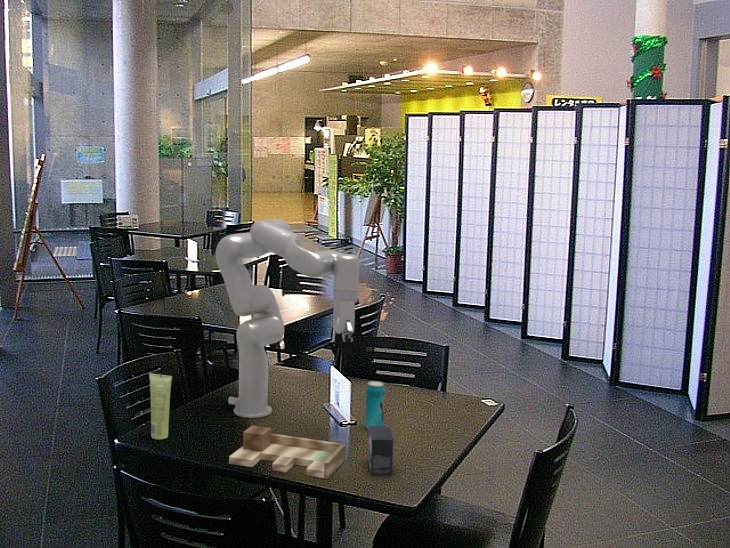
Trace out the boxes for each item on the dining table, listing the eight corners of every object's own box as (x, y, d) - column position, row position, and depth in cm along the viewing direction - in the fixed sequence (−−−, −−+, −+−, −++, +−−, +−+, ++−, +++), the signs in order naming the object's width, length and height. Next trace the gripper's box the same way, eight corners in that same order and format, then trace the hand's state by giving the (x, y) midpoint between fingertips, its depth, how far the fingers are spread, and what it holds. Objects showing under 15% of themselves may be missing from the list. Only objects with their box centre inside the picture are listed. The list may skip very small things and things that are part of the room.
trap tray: (227, 463, 227) (227, 447, 226) (249, 444, 242) (249, 430, 241) (328, 479, 219) (328, 463, 218) (345, 459, 233) (345, 444, 233)
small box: (366, 460, 233) (367, 425, 232) (388, 460, 234) (390, 425, 232) (369, 475, 223) (371, 438, 221) (393, 475, 223) (394, 438, 222)
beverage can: (381, 432, 256) (383, 386, 254) (363, 430, 257) (365, 385, 255) (384, 426, 262) (386, 381, 260) (367, 424, 263) (368, 380, 261)
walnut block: (243, 448, 233) (243, 432, 232) (251, 441, 239) (252, 425, 238) (262, 451, 231) (262, 434, 231) (270, 444, 237) (271, 428, 236)
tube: (168, 433, 249) (168, 371, 246) (171, 438, 244) (172, 375, 241) (149, 435, 246) (149, 373, 243) (152, 441, 242) (152, 377, 239)
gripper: (327, 289, 252) (325, 343, 255) (339, 300, 236) (336, 358, 239) (351, 289, 254) (349, 343, 257) (364, 300, 238) (361, 357, 240)
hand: (343, 350), depth 248 cm, fingers open, 9 cm apart
